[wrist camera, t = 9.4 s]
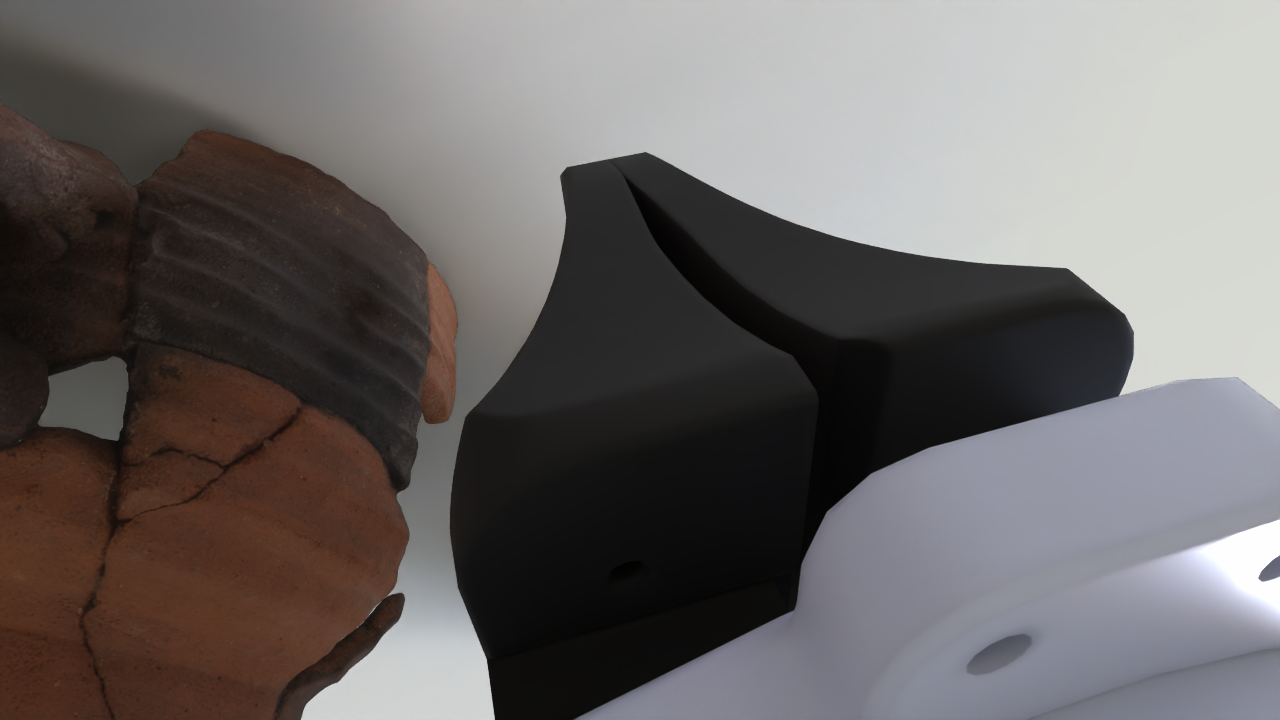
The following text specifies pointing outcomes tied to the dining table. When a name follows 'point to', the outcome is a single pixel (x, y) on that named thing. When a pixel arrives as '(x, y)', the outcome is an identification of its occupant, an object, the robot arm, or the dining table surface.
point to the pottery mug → (204, 428)
